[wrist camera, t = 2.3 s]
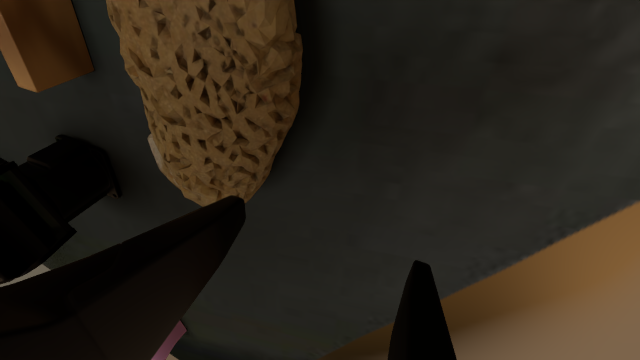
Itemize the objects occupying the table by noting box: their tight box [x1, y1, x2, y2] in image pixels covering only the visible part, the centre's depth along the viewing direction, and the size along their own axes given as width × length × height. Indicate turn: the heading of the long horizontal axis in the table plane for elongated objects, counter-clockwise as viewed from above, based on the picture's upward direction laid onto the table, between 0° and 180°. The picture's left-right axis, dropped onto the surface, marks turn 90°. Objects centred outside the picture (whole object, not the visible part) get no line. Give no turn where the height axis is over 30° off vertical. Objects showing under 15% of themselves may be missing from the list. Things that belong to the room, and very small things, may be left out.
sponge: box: [106, 0, 303, 207], centre depth 20 cm, size 13×8×20 cm
